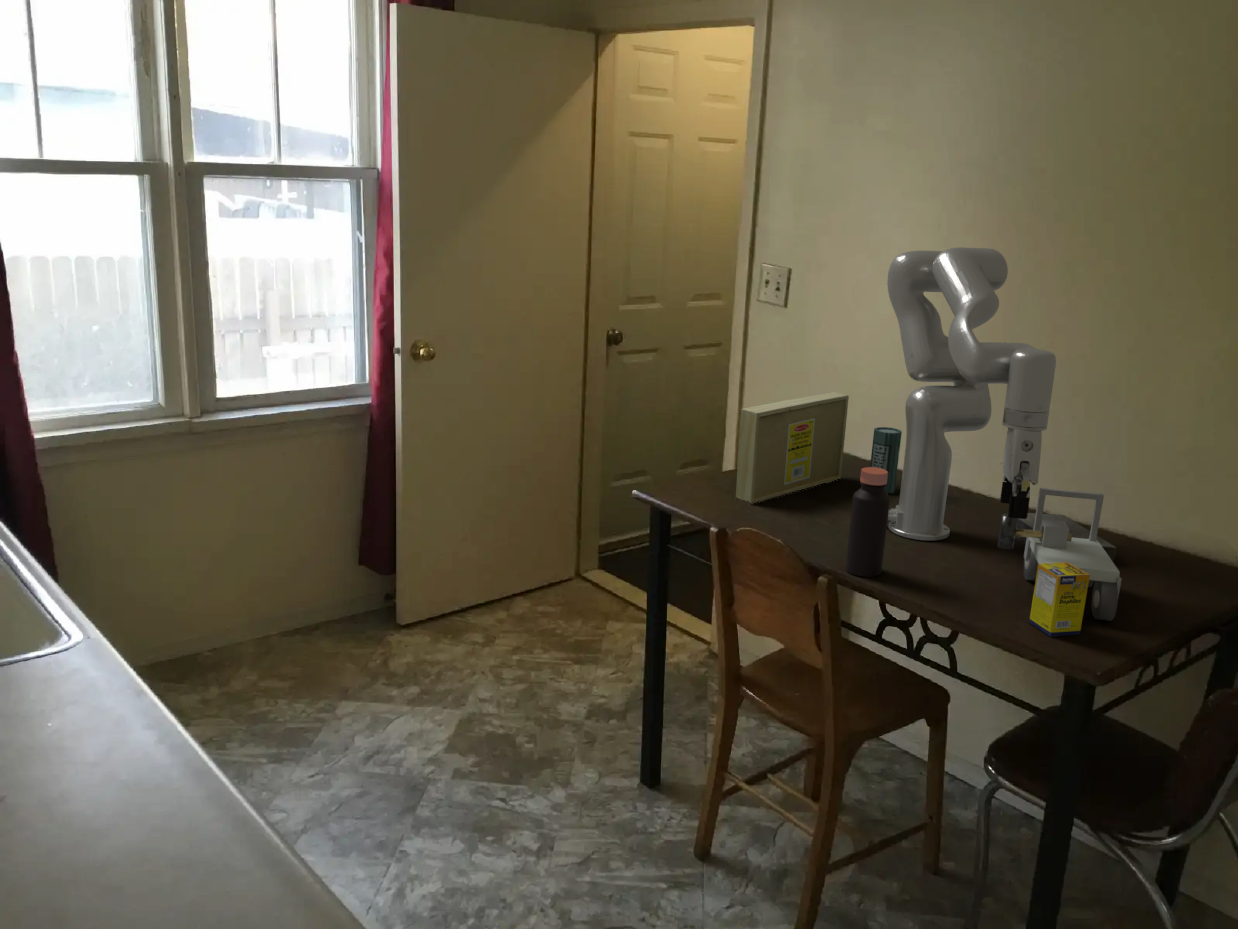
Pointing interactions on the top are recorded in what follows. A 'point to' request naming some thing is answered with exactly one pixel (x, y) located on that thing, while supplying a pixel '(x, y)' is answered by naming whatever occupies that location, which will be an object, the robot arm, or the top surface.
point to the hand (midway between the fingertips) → (1013, 510)
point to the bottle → (868, 524)
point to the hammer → (1015, 532)
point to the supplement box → (1059, 599)
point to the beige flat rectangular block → (790, 445)
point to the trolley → (1075, 553)
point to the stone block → (1074, 530)
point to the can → (886, 453)
